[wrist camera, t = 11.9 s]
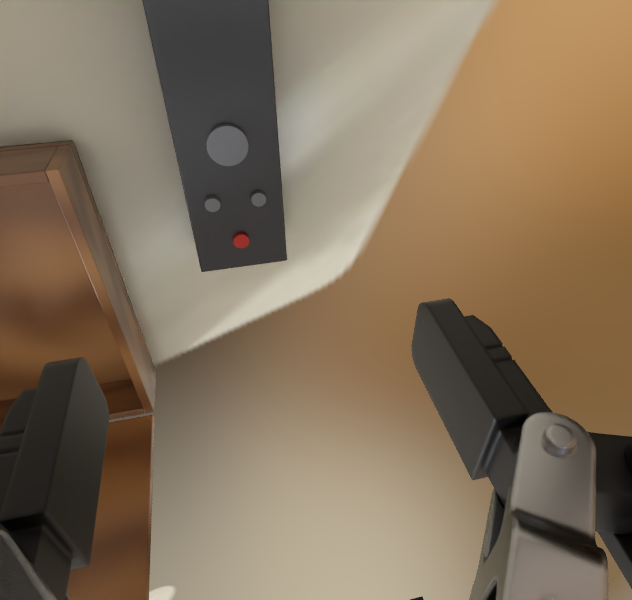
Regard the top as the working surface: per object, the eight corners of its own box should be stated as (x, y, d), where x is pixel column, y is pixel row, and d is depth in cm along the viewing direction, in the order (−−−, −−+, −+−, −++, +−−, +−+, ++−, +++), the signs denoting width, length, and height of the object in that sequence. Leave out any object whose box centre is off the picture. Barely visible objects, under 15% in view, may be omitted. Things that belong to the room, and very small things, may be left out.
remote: (137, -56, 20) (130, -51, 17) (255, -61, 21) (265, -56, 18) (200, 242, 30) (201, 275, 27) (279, 232, 30) (287, 263, 28)
